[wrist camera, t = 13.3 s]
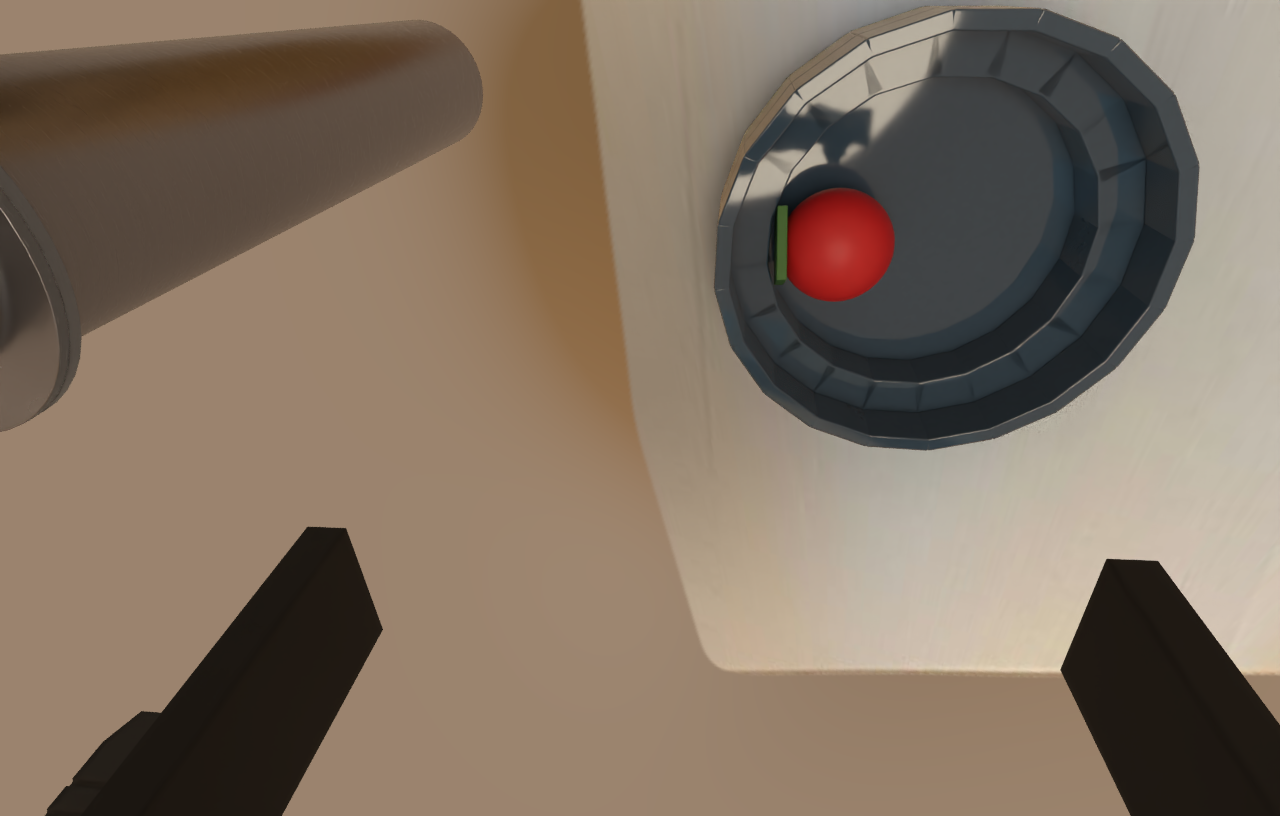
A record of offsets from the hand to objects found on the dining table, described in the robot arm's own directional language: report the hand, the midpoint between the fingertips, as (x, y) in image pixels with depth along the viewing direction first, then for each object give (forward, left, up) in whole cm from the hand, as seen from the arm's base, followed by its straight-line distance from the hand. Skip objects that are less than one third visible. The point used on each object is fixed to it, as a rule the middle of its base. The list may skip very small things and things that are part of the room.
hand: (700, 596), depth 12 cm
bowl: (+7, +3, -21) cm, 23 cm away
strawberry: (+6, +3, -18) cm, 20 cm away
